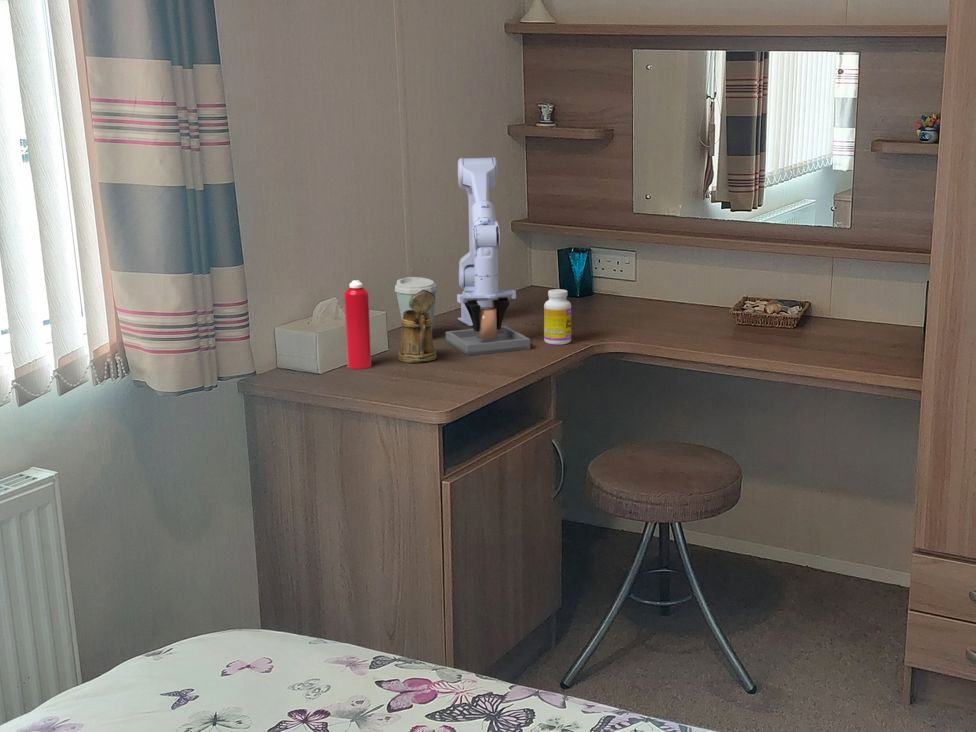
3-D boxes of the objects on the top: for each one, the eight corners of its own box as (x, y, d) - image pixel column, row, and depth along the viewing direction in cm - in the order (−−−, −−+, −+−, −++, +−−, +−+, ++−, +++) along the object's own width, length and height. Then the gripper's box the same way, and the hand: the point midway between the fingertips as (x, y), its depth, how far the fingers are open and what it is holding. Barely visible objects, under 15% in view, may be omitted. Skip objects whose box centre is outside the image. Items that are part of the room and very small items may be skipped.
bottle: (376, 366, 269) (372, 279, 264) (357, 370, 266) (353, 283, 261) (361, 362, 273) (358, 277, 268) (342, 366, 270) (338, 280, 265)
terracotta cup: (474, 335, 289) (474, 307, 287) (494, 333, 290) (494, 305, 288) (479, 339, 284) (478, 311, 282) (499, 338, 285) (498, 310, 283)
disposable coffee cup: (447, 338, 295) (446, 279, 292) (416, 346, 288) (415, 285, 284) (417, 332, 302) (416, 274, 299) (387, 339, 295) (385, 280, 291)
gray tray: (445, 341, 292) (445, 331, 291) (505, 335, 297) (505, 325, 297) (467, 355, 277) (467, 345, 277) (530, 349, 283) (530, 339, 282)
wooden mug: (406, 369, 266) (404, 291, 261) (394, 356, 278) (391, 281, 274) (445, 366, 268) (443, 288, 264) (430, 352, 281) (428, 278, 276)
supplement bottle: (569, 345, 286) (569, 293, 283) (542, 344, 287) (542, 293, 284) (572, 339, 292) (573, 288, 289) (546, 338, 293) (546, 288, 290)
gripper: (463, 279, 277) (464, 335, 280) (520, 274, 282) (520, 330, 285) (453, 274, 283) (454, 329, 287) (509, 270, 288) (510, 324, 292)
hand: (487, 329), depth 286 cm, fingers closed on terracotta cup, 5 cm apart
